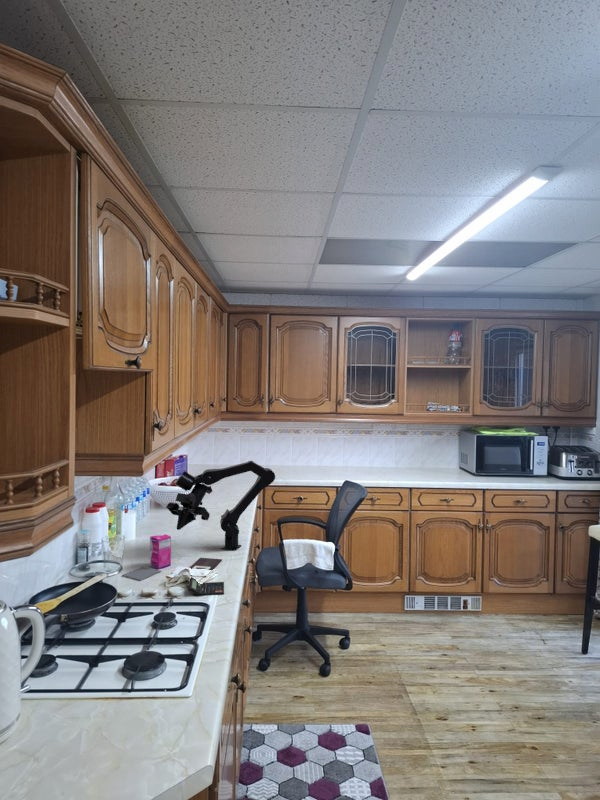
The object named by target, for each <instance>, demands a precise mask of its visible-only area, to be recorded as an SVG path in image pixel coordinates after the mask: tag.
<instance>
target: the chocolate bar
mask: <svg viewBox="0 0 600 800" xmlns="http://www.w3.org/2000/svg"><path fill="white" fill-rule="evenodd" d="M222 561H223V559H222V558H212V557H207V558H206V557H199V558H198V559H197V560H196V561H195V562H193V564H192V565H191V566H189V568H191V569H206V570H213V569H214V570H215V568H216V569H217V566H219V564H220V563H222ZM214 570H213V571H214Z"/></svg>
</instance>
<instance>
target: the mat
mask: <svg viewBox="0 0 600 800" xmlns="http://www.w3.org/2000/svg"><path fill="white" fill-rule="evenodd" d="M161 572H162V570H161V569H157V568H153V567H151V568H150V567H147V566H140V567H138V568H136V569H133V570H131V571H129V572H126V573H123V574H122V575H121V577H124V578H129V579H132V580H136V581H140V582H141V581H144V580H147V579H148V578H150V577H153V576H154V575H157V574H160V573H161Z"/></svg>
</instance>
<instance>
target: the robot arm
mask: <svg viewBox="0 0 600 800" xmlns="http://www.w3.org/2000/svg"><path fill="white" fill-rule="evenodd" d="M248 472H251V473H253V474H255V475H256V476H257V478H256V480H255V482H254V484H253V485H252V486H251V487H250V488H249V490H248V491H247V492H246V493H245V495H243V497H241V498H240V500H239V501H238V502H237V504H236V505H235V506H234V508H232V509H231V510H230V509H228V508H227V509H226V510H225V512H224V513H222V515H220V516H221V517H220V522H219V524H220V525H219V526H220V529H221V531H223V532H225V533H224V546H222V547H221V549H222V550H227V549H228V551H236V550H238V549H240V548H241V547H242V544H239V534H240V529H239V526H238V525H237V524H238V521H239V519H240V517H241V515H243V513H244V512H245V511H246V510H247V508H248V507H249V506H250V505H251V503H252V502H253V501H254V500H255V499H256V497H257V496H258V495H259V494H260V493H261V492H262V491H263V490H264V489H266V488H267V487H269V486H270V485H271V484H272V483H274V482H275V480H276V474H275V472H274V471H273V470H272V469H271V468H269V467H266V468H265V467H263V466H261V465H259V464H257V463H256V462H254V461H253V460H249V461H245V462H242V463H238V464H234V465H231V466H227V467H223V468H208V469H204V471H203V472H202V473H200V474H198V475H195V476H193V475H192V474H190V473H189V472H188V471H187V470H183V472H182V473H181V474H180V475H179V477H177V479H176V481H175V483H174V485H175V486H177V487H179V488H181V489H182V490H184V491H185V492H187V491H190V492H189V493H187V494H186V493H181V492H180V493H179V492H177V495H176V498H175V501H176V502H172V501H171V502H168V503H167V505H166V509H167V510H168V511H169V512H170V514H172V515H173V516H178V518H177V523H176V529H177V531H180V530H182V529H183V528H184V527H185V526H187V525H188V524H190V523H192V522H194V521H196V520H197V518H196V517H197V516H200V519H201V520H202V521H208V520H209V519H210V517H211V516H210V515H211V514H210V512H209V511H208V510H207V508H206V507H203V506H202V505H203V499H204V498H205V496H206V494H208V495H210V494H211V493H213V489H212V486H211V485H214V484H216V483H217V482H220V481H221V480H223V479H226V478H229V477H232V476H237V475H240V474H245V473H248ZM178 502H179V503H180V504H179V503H178Z"/></svg>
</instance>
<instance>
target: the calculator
mask: <svg viewBox="0 0 600 800" xmlns="http://www.w3.org/2000/svg"><path fill="white" fill-rule="evenodd" d="M196 580H197V579H195V578H194V577H193V576H190V578H189V580H188V587H187V591H188V592H191V593H193V594H195V595H196V596H203V597H204V596H223V595H225V582H224V581H215V582H213V581H212V582H202V583H203V584H200V583H198V582H197V581H196Z"/></svg>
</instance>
